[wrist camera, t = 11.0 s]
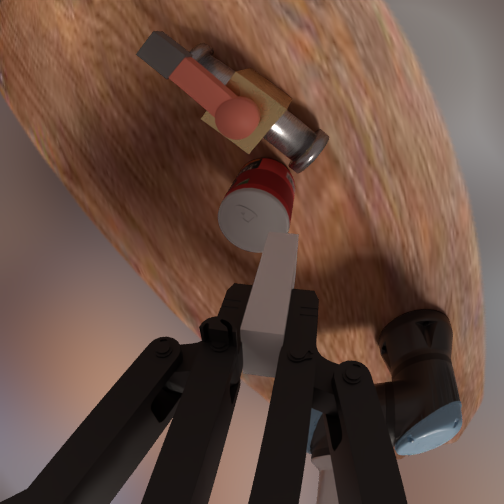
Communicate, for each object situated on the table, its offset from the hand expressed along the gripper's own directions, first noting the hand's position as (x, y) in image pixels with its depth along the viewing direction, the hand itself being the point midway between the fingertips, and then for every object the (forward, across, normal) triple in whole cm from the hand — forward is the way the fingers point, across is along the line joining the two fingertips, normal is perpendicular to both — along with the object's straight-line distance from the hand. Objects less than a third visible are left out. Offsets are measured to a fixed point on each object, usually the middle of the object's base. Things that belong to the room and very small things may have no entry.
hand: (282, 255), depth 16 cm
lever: (+17, +10, -8) cm, 21 cm away
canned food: (+27, +5, +7) cm, 28 cm away
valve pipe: (+26, +6, -4) cm, 27 cm away
